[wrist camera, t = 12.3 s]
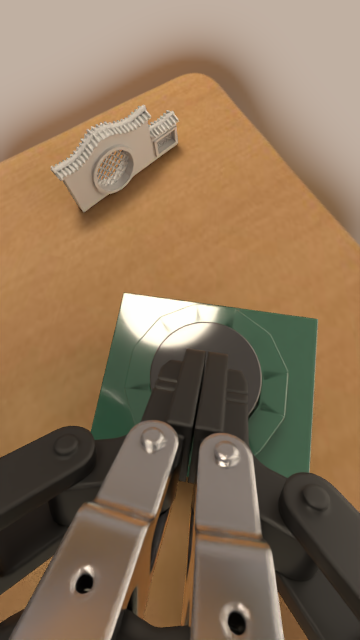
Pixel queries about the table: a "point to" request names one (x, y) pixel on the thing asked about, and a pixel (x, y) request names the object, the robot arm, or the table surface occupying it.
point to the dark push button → (212, 340)
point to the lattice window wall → (99, 142)
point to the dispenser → (272, 351)
